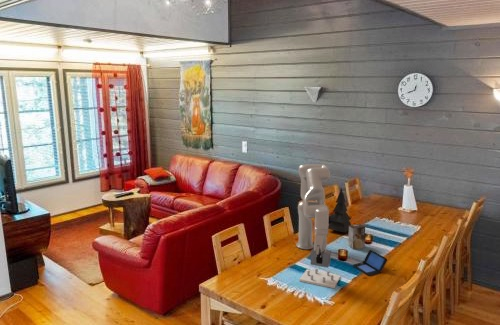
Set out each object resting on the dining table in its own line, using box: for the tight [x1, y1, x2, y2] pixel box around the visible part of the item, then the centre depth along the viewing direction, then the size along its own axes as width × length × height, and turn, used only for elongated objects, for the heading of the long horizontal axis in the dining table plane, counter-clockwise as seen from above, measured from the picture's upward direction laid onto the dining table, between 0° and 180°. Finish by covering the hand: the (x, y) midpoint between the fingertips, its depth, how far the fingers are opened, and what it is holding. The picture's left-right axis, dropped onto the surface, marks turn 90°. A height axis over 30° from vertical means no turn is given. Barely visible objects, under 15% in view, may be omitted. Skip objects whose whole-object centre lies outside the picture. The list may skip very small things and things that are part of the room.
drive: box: [310, 248, 332, 268], centre depth 222 cm, size 5×10×8 cm, turn 64°
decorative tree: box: [328, 187, 352, 233], centre depth 294 cm, size 15×15×35 cm
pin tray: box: [298, 268, 341, 289], centre depth 224 cm, size 14×20×4 cm
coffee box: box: [347, 223, 366, 250], centre depth 266 cm, size 9×6×16 cm
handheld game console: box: [352, 249, 388, 277], centre depth 235 cm, size 16×13×9 cm
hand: (320, 261), depth 222 cm, fingers closed on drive, 5 cm apart
